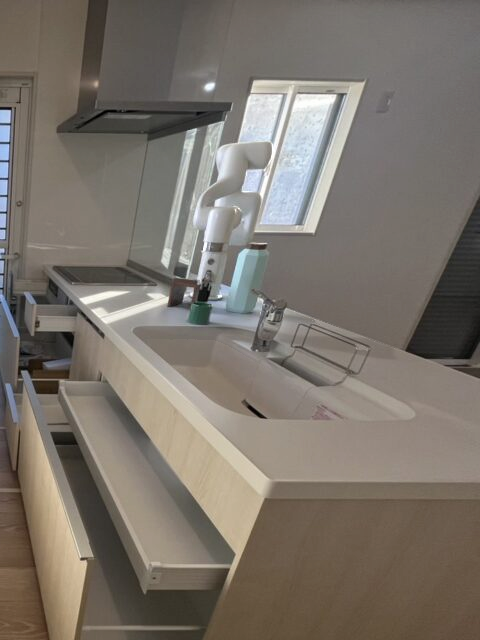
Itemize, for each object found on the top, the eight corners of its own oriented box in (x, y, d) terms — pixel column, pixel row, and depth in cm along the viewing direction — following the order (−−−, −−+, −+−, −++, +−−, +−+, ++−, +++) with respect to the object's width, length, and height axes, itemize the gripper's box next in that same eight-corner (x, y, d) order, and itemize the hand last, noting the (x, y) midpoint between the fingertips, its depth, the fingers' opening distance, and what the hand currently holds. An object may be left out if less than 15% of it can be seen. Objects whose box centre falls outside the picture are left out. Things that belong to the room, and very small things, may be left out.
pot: (193, 318, 151) (196, 301, 148) (211, 322, 146) (216, 304, 143) (184, 321, 147) (188, 304, 144) (203, 325, 142) (207, 307, 139)
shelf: (180, 301, 174) (186, 274, 169) (204, 306, 167) (211, 277, 162) (167, 306, 168) (172, 277, 163) (191, 310, 161) (198, 280, 156)
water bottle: (244, 315, 154) (263, 245, 143) (219, 309, 162) (235, 243, 151) (260, 311, 158) (279, 243, 148) (234, 306, 166) (251, 241, 156)
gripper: (227, 250, 127) (214, 305, 134) (228, 246, 141) (216, 295, 148) (199, 249, 131) (188, 302, 138) (203, 245, 144) (193, 293, 151)
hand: (203, 299), depth 143 cm, fingers open, 9 cm apart
